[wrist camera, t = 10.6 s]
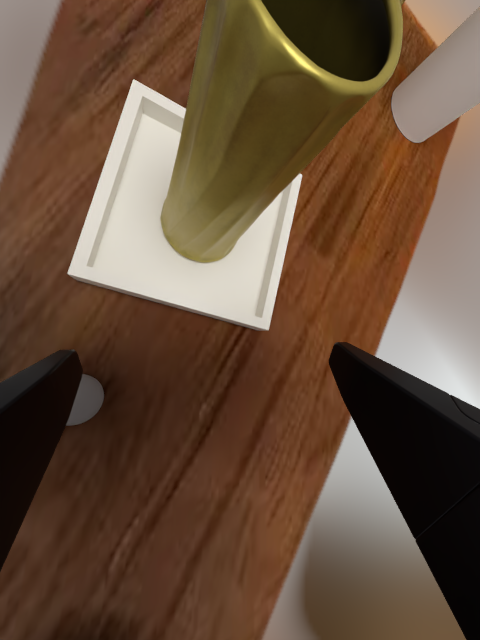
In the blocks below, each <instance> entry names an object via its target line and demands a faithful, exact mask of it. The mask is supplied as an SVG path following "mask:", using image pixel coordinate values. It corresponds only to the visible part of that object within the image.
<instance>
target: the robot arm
mask: <svg viewBox="0 0 480 640" xmlns="http://www.w3.org/2000/svg"><path fill="white" fill-rule="evenodd" d="M329 365H330V368H331V371H332V373H333V376H334V378H335V381H336V383H337V386H338V388H339V391H340V394H341V396H342V398H343V400H344V403H345V405H346V407H347V409H348V411H349V412H350V414H351V416H352V418H353V420H354V422H355V424H356V426H357V428H358V430H359V432H360V434H361V436H362V438H363V439H364V442H365V443H366V445H367V447H368V449H369V451H370V453H371V455H372V457H373V459H374V461H375V463H376V465H377V467H378V469H379V471H380V473H381V474H382V476H383V478H384V480H385V482H386V484H387V486H388V488H389V490H390V491H391V494H392V496H393V498H394V500H395V502H396V504H397V505H398V508H399V509H400V511H401V513H402V515H403V517H404V519H405V521H406V523H407V525H408V527H409V529H410V531H411V533H412V535H413V537H414V538H415V539H416V543H417V545H418V547H419V549H420V550H421V553H422V554H423V556H424V558H425V560H426V562H427V564H428V566H429V568H430V570H431V572H432V574H433V576H434V578H435V580H436V582H437V584H438V585H439V587H440V589H441V591H442V593H443V595H444V597H445V599H446V601H447V603H448V605H449V607H450V609H451V611H452V613H453V615H454V617H455V619H456V620H457V622H458V624H459V626H460V628H461V630H462V632H463V634H464V636H465V638H466V640H480V409H478V408H476V407H474V406H472V405H470V404H468V403H466V402H464V401H462V400H460V399H458V398H456V397H454V396H452V395H449V394H448V393H446V392H444V391H442V390H440V389H438V388H436V387H434V386H432V385H430V384H428V383H426V382H424V381H422V380H421V379H419V378H417V377H415V376H413V375H411V374H409V373H407V372H405V371H402V370H401V369H399V368H397V367H395V366H392V365H391V364H389V363H387V362H385V361H383V360H381V359H379V358H377V357H375V356H373V355H371V354H369V353H367V352H365V351H363V350H361V349H359V348H357V347H355V346H353V345H351V344H349V343H347V342H337V343H335V344H334V346H333V349H332V352H331V355H330V358H329ZM82 375H83V369H82V366H81V363H80V360H79V357H78V354H77V352H76V351H75V350H59V351H57V352H55V353H53V354H52V355H50V356H48V357H46V358H44V359H43V360H41V361H39V362H37V363H35V364H34V365H32V366H30V367H28V368H26V369H24V370H23V371H21V372H19V373H17V374H15V375H14V376H12V377H10V378H8V379H6V380H5V381H3V382H1V383H0V571H1V569H2V567H3V564H4V562H5V560H6V558H7V555H8V553H9V551H10V549H11V547H12V544H13V542H14V540H15V538H16V535H17V533H18V531H19V529H20V527H21V524H22V522H23V520H24V518H25V515H26V513H27V511H28V509H29V507H30V504H31V502H32V500H33V498H34V495H35V493H36V491H37V489H38V487H39V484H40V482H41V480H42V478H43V475H44V473H45V471H46V469H47V467H48V464H49V462H50V460H51V458H52V455H53V453H54V451H55V449H56V447H57V444H58V442H59V440H60V438H61V435H62V433H63V431H64V429H65V426H66V424H67V422H68V419H69V416H70V413H71V410H72V407H73V404H74V401H75V398H76V395H77V391H78V388H79V385H80V382H81V379H82Z"/></svg>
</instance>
